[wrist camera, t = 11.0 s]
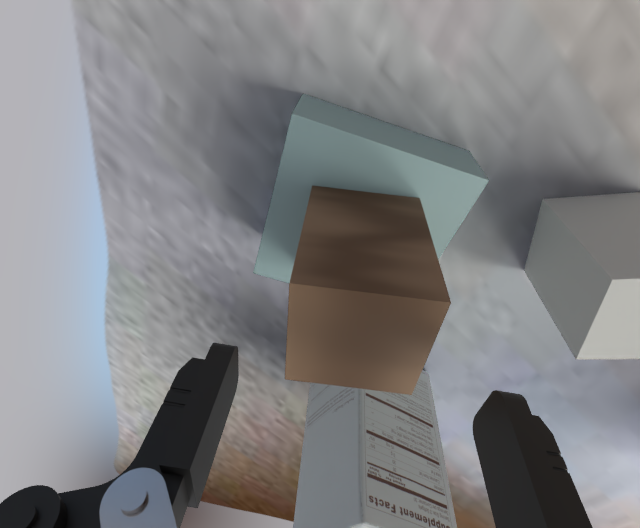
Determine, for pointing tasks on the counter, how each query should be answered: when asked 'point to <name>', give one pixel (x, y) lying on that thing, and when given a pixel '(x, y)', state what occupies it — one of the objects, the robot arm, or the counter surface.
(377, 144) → the pedestal block
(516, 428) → the robot arm
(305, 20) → the counter surface
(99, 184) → the counter surface
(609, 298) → the grey block
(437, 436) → the supplement box
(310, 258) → the walnut block
